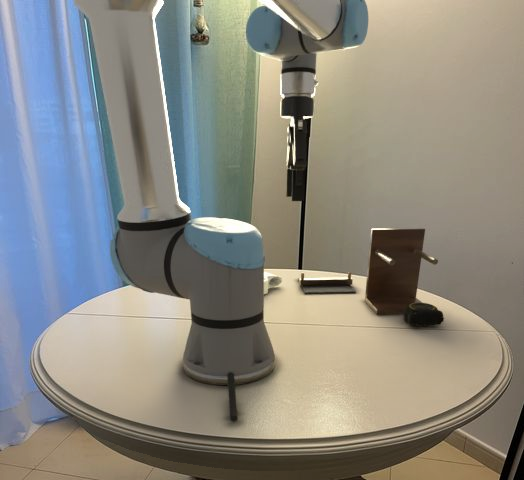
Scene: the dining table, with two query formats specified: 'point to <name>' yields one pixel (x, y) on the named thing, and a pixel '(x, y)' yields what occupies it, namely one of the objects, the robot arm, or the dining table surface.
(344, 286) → the mat
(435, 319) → the tape measure
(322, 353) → the dining table surface
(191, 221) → the robot arm
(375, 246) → the rack
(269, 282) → the white brass knuckles
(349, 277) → the hanger
